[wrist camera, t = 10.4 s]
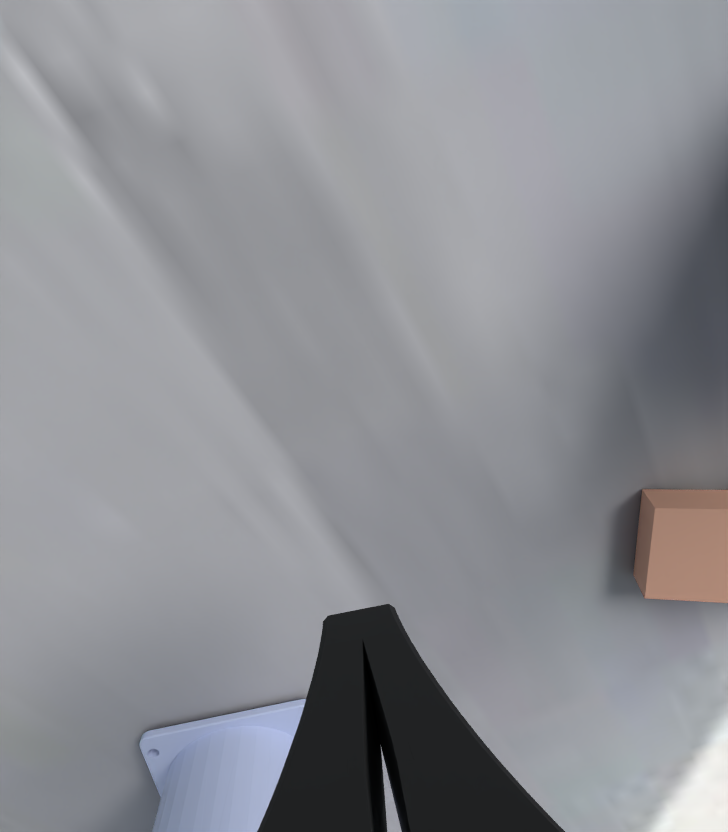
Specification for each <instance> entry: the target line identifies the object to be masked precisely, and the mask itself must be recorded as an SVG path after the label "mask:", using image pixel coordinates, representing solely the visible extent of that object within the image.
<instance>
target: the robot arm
mask: <svg viewBox="0 0 728 832" xmlns="http://www.w3.org/2000/svg"><path fill="white" fill-rule="evenodd" d="M139 746H140V749H141V752H142V754H143V756H144V759H145V761H146V764H147V766H148V768H149V771H150V773H151V776H152V778H153V780H154V783H155V785H156V788H157V790H158V792H159V795H160V797H161V800H160V804H159V808H158V811H157V815H156V819H155V823H154V827H153V830H152V832H387V823H386V809H385V796H384V783H383V769H382V756H381V747H382V752H383V756H384V760H385V764H386V768H387V772H388V776H389V780H390V785H391V789H392V793H393V797H394V801H395V805H396V809H397V813H398V817H399V822H400V826H401V830H402V832H565V831H564V830H563V829H562V828H561V827H560V826H559V825H558V824H557V823H556V822H555V821H554V820H553V819H552V818H551V817H550V816H549V815H548V814H547V813H546V812H545V811H544V810H543V808H542V807H541V806H540V805H539V804H538V803H537V802H536V801H535V800H534V799H533V798H532V797H531V796H530V795H529V794H528V793H527V792H526V790H525V789H524V788H523V787H522V786H521V785H520V784H519V783H518V782H517V780H516V779H515V778H514V777H513V776H512V775H511V774H510V773H509V772H508V770H507V769H506V768H505V767H504V766H503V765H502V764H501V762H500V761H499V760H498V759H497V758H496V757H495V755H494V754H493V753H492V752H491V751H490V750H489V748H488V747H487V746H486V745H485V744H484V742H483V741H482V740H481V739H480V737H479V736H478V735H477V734H476V732H475V731H474V730H473V729H472V727H471V726H470V725H469V724H468V722H467V721H466V720H465V719H464V717H463V716H462V715H461V713H460V712H459V711H458V709H457V708H456V707H455V705H454V704H453V703H452V701H451V700H450V699H449V697H448V696H447V695H446V693H445V692H444V690H443V689H442V687H441V686H440V685H439V683H438V682H437V680H436V679H435V677H434V676H433V675H432V673H431V672H430V670H429V669H428V667H427V666H426V664H425V663H424V661H423V660H422V658H421V657H420V655H419V653H418V652H417V650H416V648H415V647H414V645H413V643H412V642H411V640H410V638H409V636H408V635H407V633H406V631H405V629H404V627H403V625H402V623H401V621H400V619H399V617H398V615H397V613H396V610H395V608H394V607H393V606H391V605H389V604H386V605H381V606H376V607H370V608H365V609H360V610H355V611H350V612H345V613H340V614H335V615H329V616H327V618H326V619H325V620H324V621H323V629H322V636H321V642H320V648H319V652H318V657H317V661H316V665H315V669H314V673H313V677H312V681H311V685H310V688H309V691H308V695H307V698H306V699H300V700H295V701H290V702H285V703H280V704H276V705H271V706H266V707H261V708H256V709H251V710H246V711H242V712H237V713H232V714H227V715H222V716H217V717H212V718H208V719H203V720H198V721H193V722H188V723H183V724H178V725H174V726H169V727H164V728H159V729H154V730H150V731H147V732H145V733H144V734H143V735H142V737H141V740H140V743H139Z"/></svg>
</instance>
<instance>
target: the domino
mask: <svg viewBox="0 0 728 832" xmlns="http://www.w3.org/2000/svg"><path fill="white" fill-rule="evenodd" d="M633 575H634V577H635V579H636V582H637V584H638V586H639V588H640V590H641V592H642V594H643V596H644V598H646V599H664V600H682V601H701V602H719V603H728V490H672V489H642V496H641V506H640V515H639V525H638V535H637V544H636V554H635V564H634V573H633Z"/></svg>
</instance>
